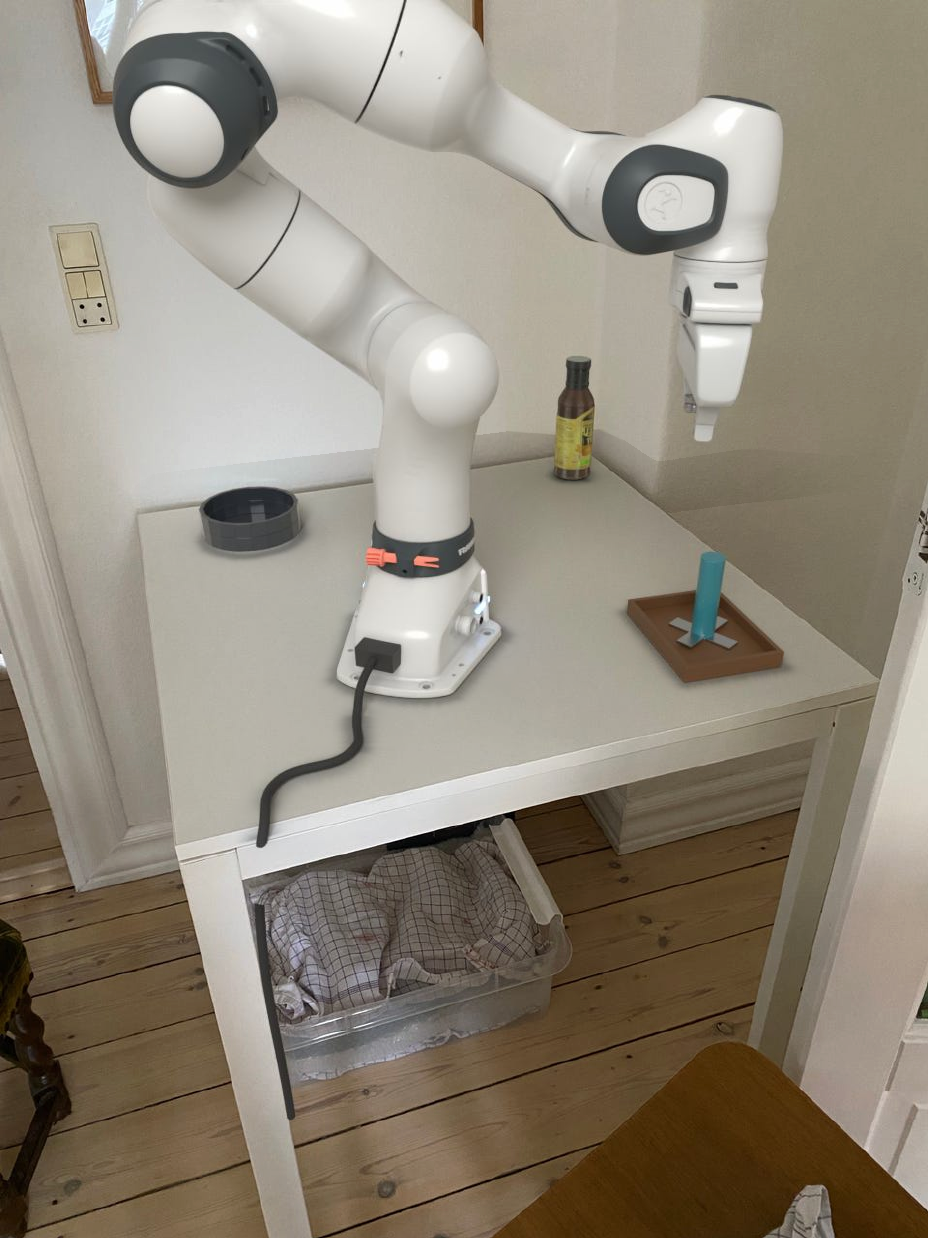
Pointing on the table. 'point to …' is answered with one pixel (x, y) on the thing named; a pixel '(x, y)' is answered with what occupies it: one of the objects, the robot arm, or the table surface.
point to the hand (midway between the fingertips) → (696, 424)
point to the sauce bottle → (575, 422)
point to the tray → (704, 656)
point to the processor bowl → (250, 518)
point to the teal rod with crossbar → (706, 606)
